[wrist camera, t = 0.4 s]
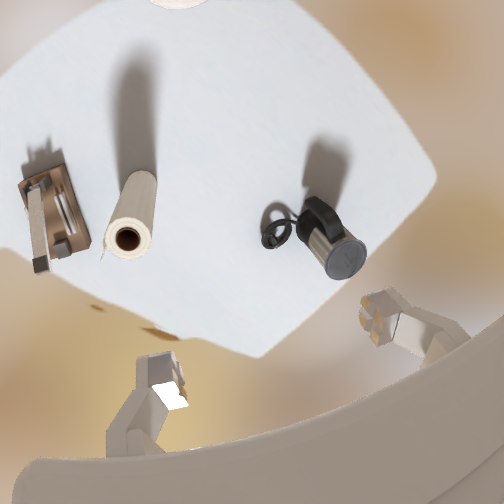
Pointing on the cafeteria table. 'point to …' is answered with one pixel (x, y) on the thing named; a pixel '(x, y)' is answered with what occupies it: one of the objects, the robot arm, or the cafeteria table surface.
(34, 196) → the beige-grey bar
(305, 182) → the cafeteria table surface
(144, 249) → the paper towel roll
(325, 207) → the milk frother
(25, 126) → the cafeteria table surface
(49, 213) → the wooden base lever press
